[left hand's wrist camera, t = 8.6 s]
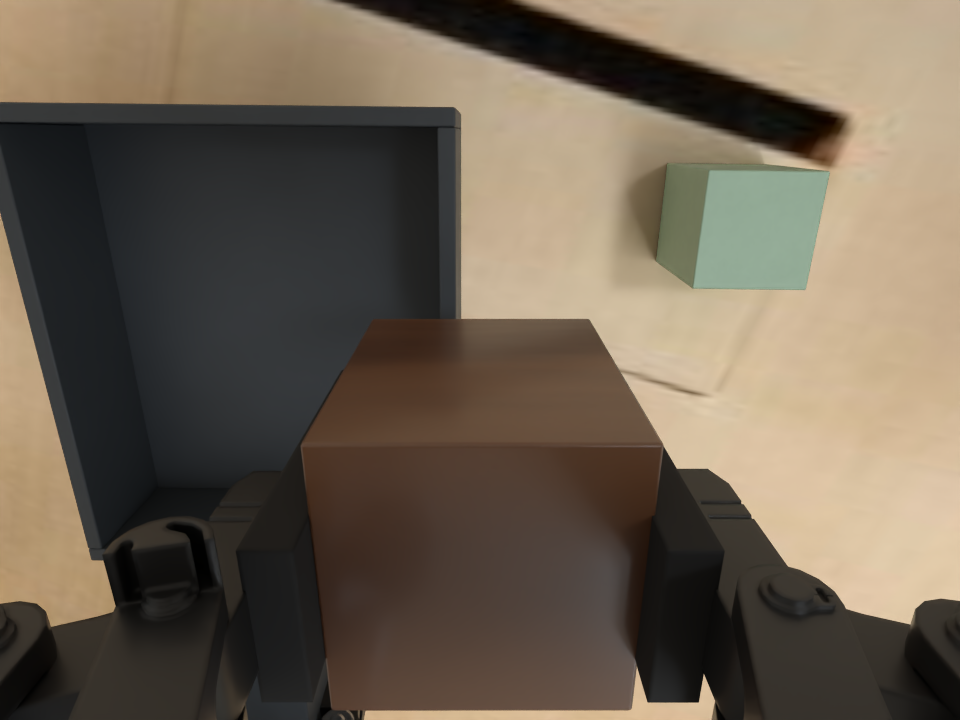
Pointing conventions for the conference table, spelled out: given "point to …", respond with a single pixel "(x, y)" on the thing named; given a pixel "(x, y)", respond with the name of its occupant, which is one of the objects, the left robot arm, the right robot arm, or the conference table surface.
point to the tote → (216, 283)
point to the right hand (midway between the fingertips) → (309, 650)
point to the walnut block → (481, 518)
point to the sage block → (740, 224)
